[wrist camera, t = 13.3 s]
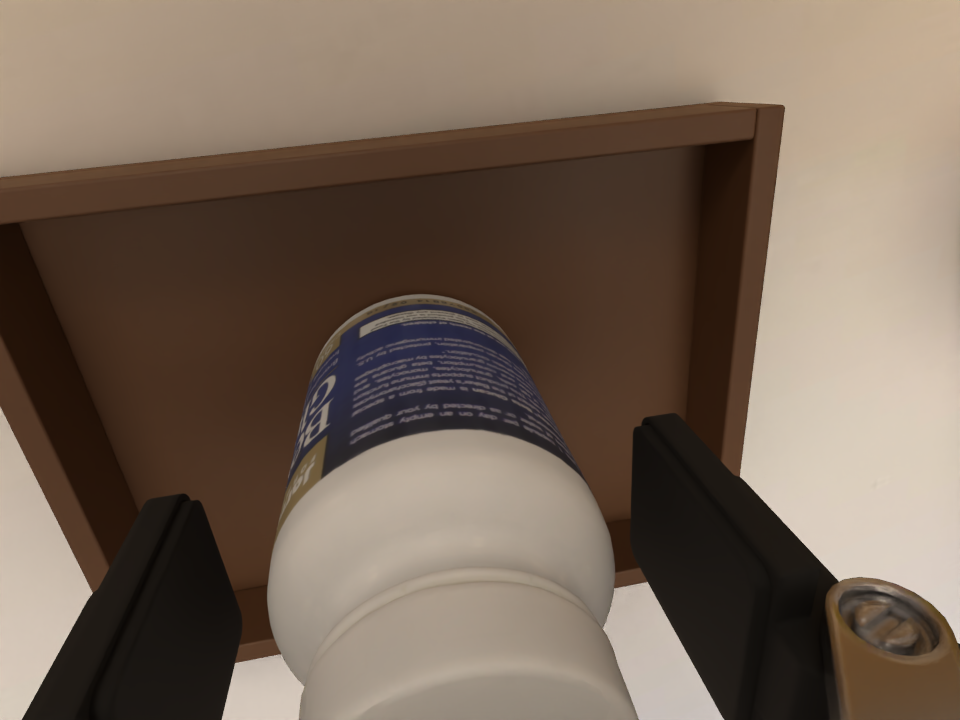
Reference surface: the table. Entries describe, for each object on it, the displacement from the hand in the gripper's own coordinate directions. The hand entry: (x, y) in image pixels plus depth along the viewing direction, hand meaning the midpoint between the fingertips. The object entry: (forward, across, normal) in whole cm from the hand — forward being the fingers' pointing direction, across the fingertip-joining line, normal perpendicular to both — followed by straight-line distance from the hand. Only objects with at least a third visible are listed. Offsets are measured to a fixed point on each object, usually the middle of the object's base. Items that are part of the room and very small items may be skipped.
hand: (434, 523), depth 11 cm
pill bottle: (+5, 0, 0) cm, 5 cm away
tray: (+6, 0, 0) cm, 6 cm away
